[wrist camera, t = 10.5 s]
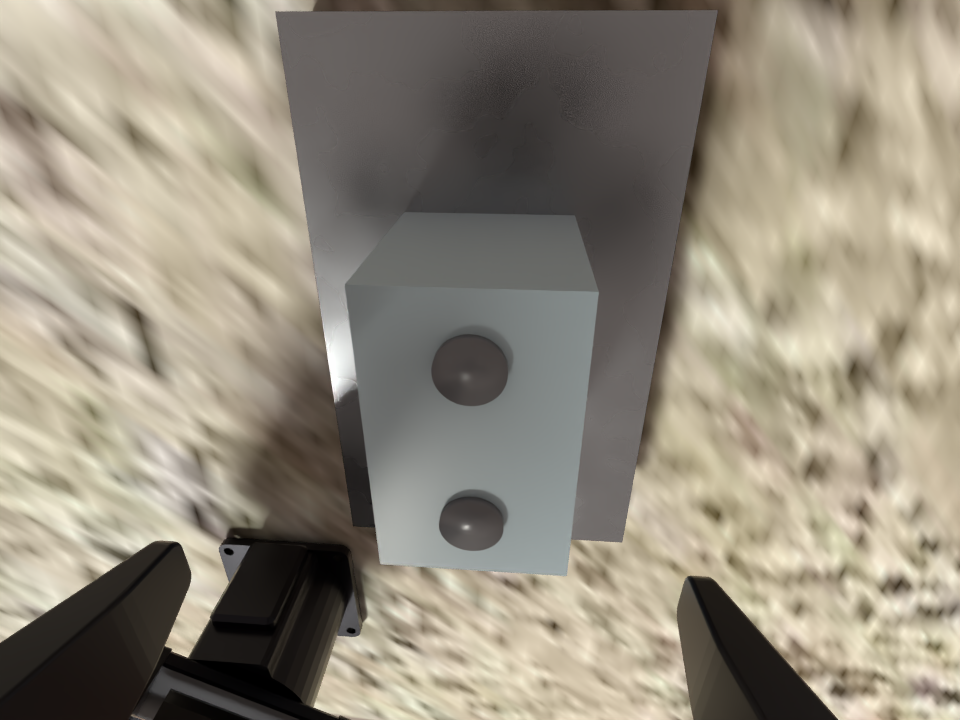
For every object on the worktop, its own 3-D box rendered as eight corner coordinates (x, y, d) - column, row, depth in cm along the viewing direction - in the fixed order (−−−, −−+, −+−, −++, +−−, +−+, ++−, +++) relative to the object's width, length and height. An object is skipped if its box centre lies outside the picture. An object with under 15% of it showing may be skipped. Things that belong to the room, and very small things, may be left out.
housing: (574, 215, 16) (600, 296, 10) (555, 438, 20) (567, 584, 14) (404, 211, 16) (341, 289, 11) (418, 431, 20) (378, 572, 14)
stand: (613, 498, 24) (622, 542, 22) (368, 485, 25) (353, 526, 22) (690, 17, 15) (717, 10, 13) (309, 18, 16) (275, 11, 14)
